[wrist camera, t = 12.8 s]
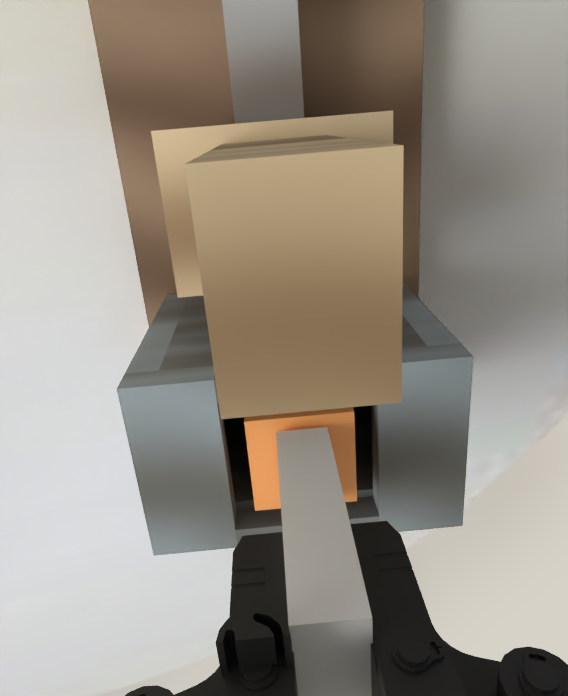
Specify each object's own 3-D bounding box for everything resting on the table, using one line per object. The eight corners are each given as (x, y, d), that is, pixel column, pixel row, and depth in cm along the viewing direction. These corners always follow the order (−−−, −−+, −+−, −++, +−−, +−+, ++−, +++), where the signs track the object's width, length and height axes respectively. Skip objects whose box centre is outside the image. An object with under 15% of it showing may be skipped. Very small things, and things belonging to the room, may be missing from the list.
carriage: (175, 130, 20) (27, 136, 7) (361, 113, 20) (552, 93, 7) (194, 261, 22) (105, 456, 9) (363, 245, 22) (518, 418, 9)
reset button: (245, 383, 18) (244, 421, 15) (341, 374, 18) (354, 411, 16) (254, 463, 19) (255, 510, 17) (345, 455, 19) (356, 500, 17)
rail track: (39, -325, 17) (-295, -1019, 7) (417, -352, 17) (658, -1066, 7) (170, 402, 27) (118, 572, 17) (408, 380, 27) (501, 535, 17)
